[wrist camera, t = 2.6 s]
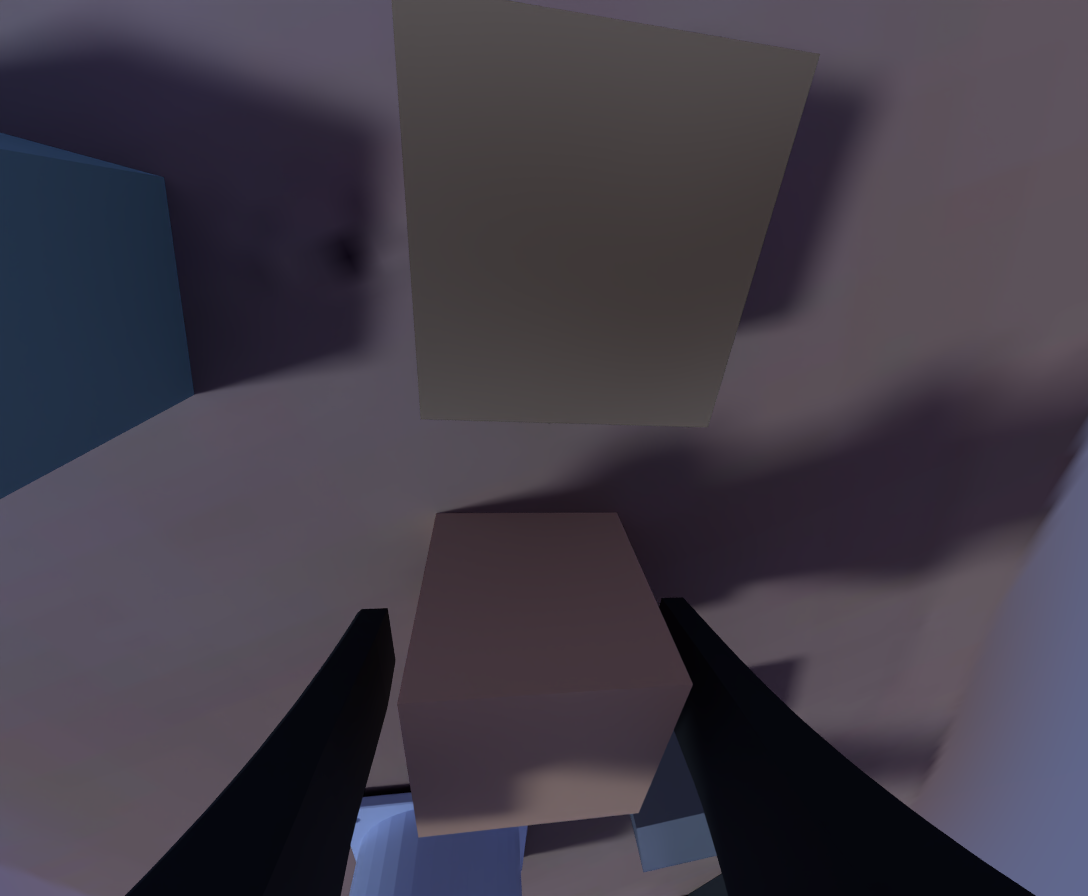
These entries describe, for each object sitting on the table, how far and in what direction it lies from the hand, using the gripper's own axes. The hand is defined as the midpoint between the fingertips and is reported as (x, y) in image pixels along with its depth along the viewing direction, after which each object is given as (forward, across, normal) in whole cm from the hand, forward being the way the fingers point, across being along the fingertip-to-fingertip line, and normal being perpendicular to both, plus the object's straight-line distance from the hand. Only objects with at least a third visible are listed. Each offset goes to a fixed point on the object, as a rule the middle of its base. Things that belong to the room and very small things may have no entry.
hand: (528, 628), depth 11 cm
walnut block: (+2, 0, -9) cm, 9 cm away
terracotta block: (+2, 0, 0) cm, 2 cm away
